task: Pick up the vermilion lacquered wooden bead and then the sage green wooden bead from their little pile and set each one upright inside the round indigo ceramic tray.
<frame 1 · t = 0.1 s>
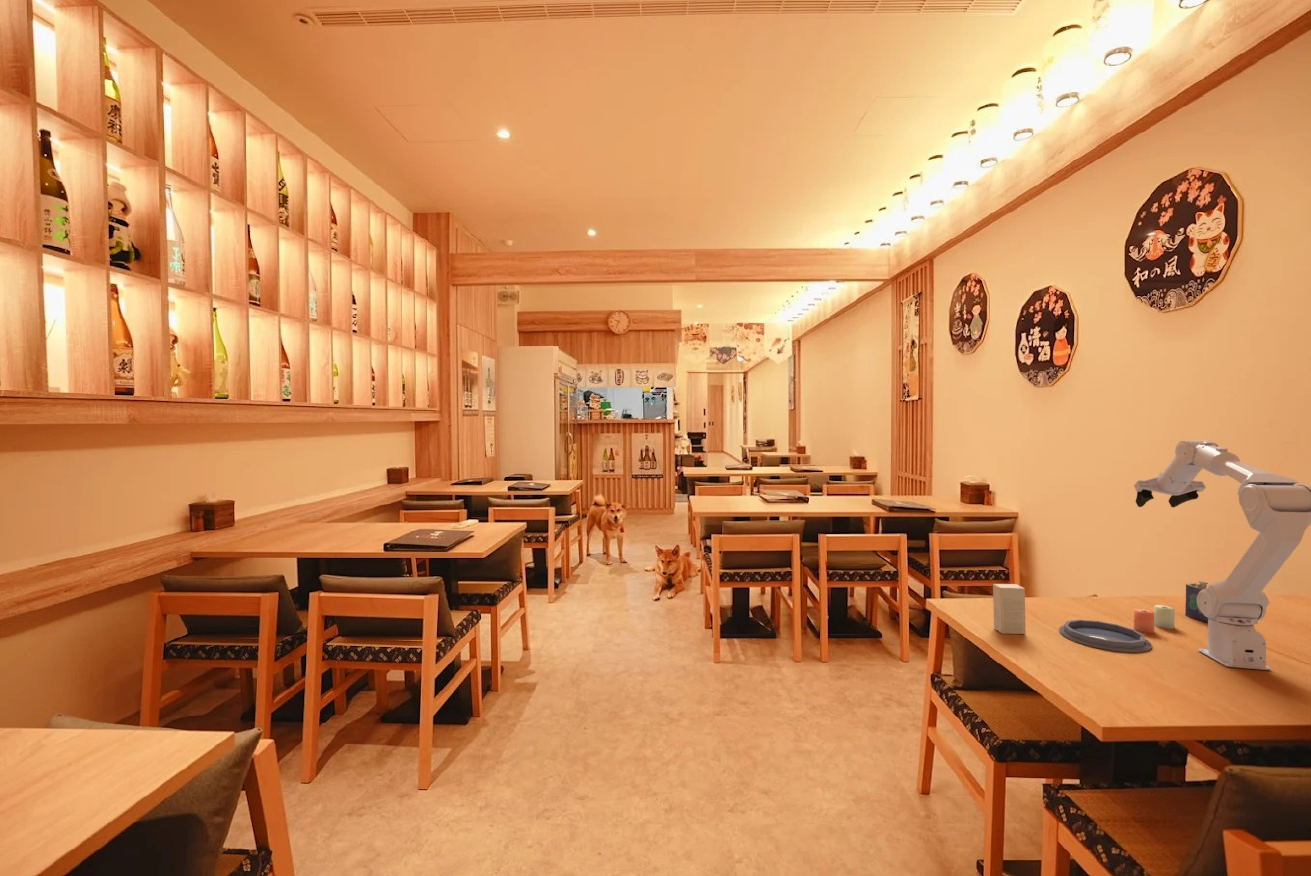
hand: (1154, 504, 152), 32 cm above the table, tool tilted 50°, fingers open, 7 cm apart
round tray: (1103, 638, 138), on the table
sage bead: (1164, 626, 147), on the table
vermilion bead: (1144, 630, 144), on the table
skincare box: (1009, 632, 144), on the table
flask: (1203, 620, 151), on the table
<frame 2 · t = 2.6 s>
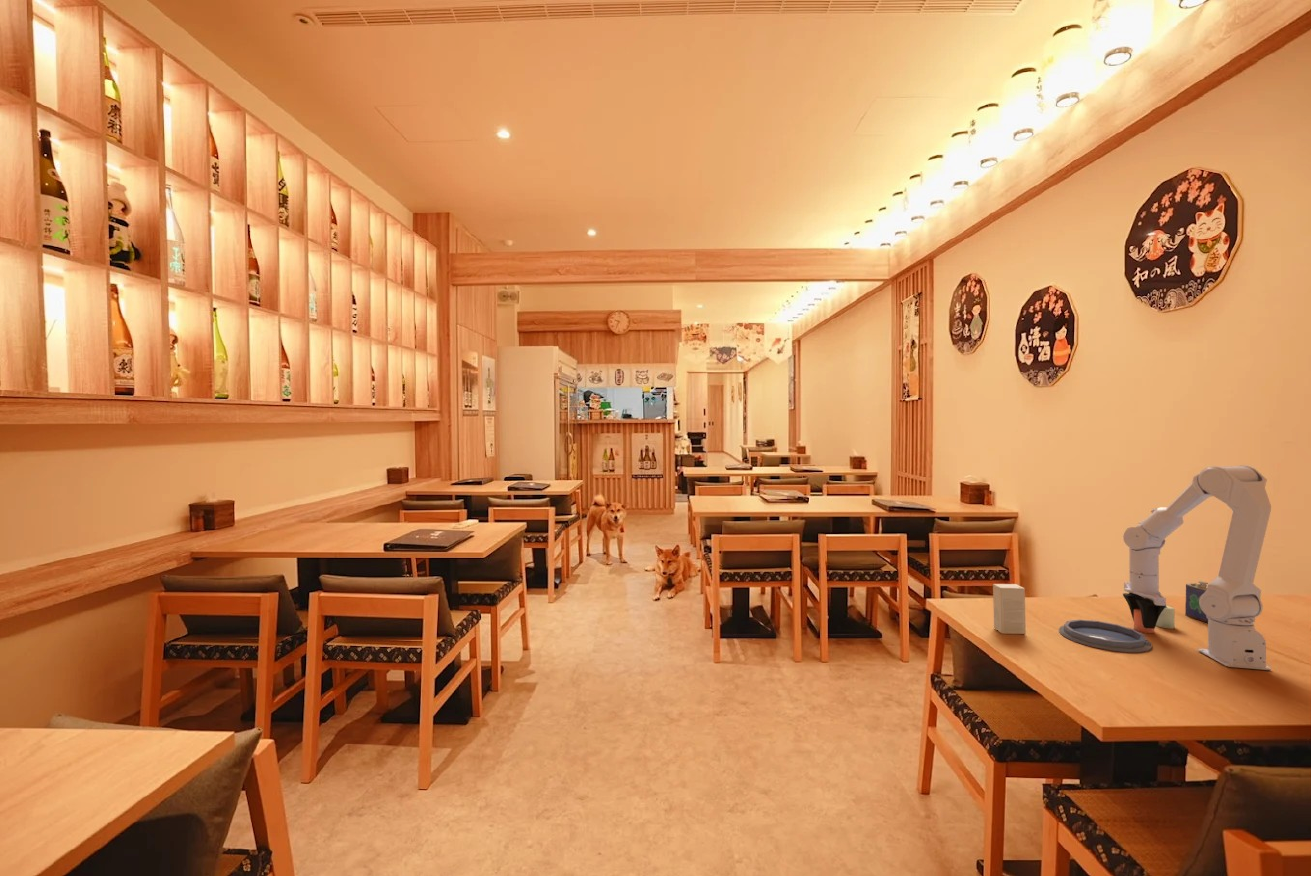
hand: (1143, 624, 144), 1 cm above the table, tool pointing down, fingers closed on vermilion bead, 4 cm apart
vermilion bead: (1143, 630, 144), on the table, touching gripper
everything else where it was.
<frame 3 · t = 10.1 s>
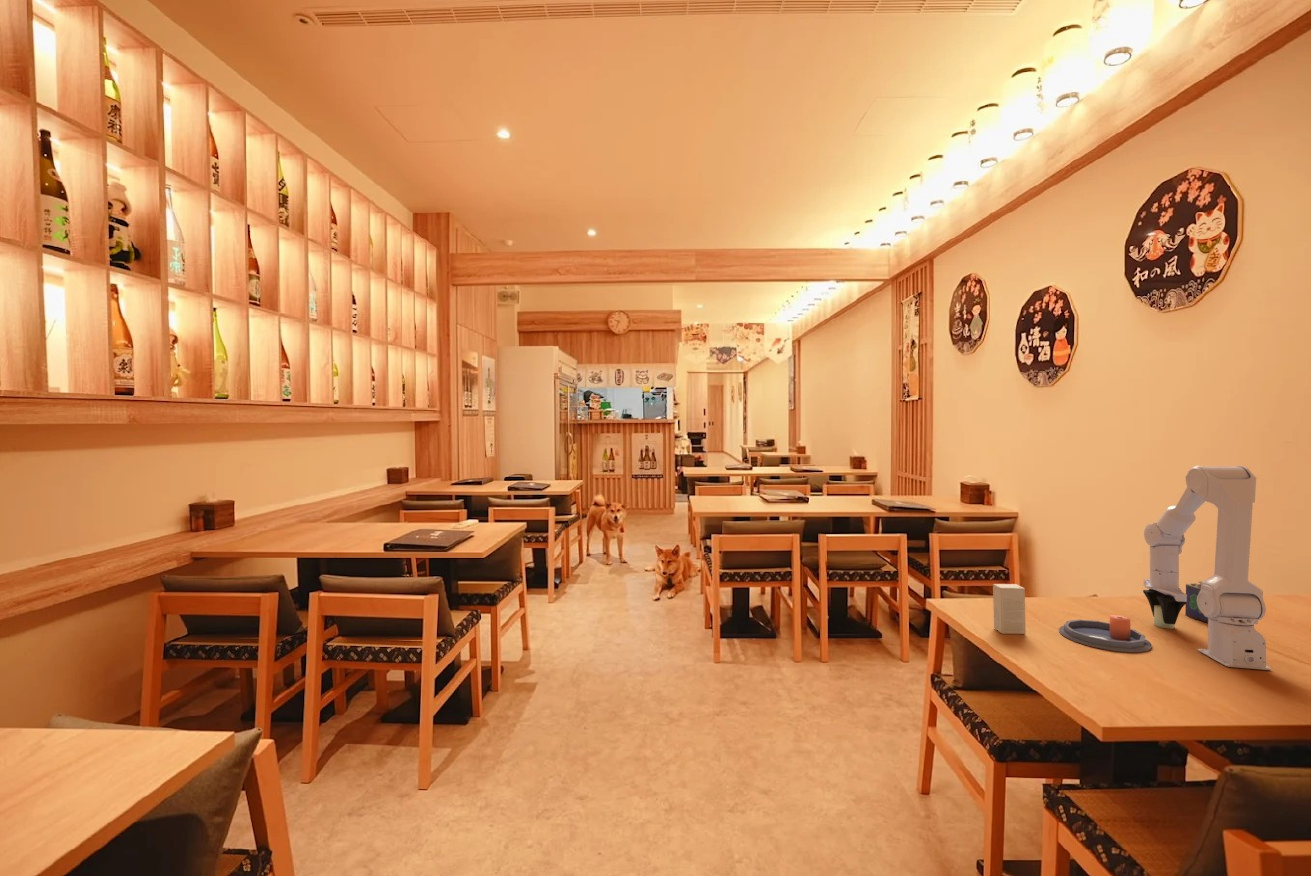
hand: (1164, 620, 147), 1 cm above the table, tool pointing down, fingers closed on sage bead, 4 cm apart
sage bead: (1164, 625, 147), on the table, touching gripper
vermilion bead: (1119, 637, 137), resting on round tray
everything else where it was.
when the fingers open (3 cm above the table, at t = 14.4 s): sage bead drops 1 cm, resting on round tray.
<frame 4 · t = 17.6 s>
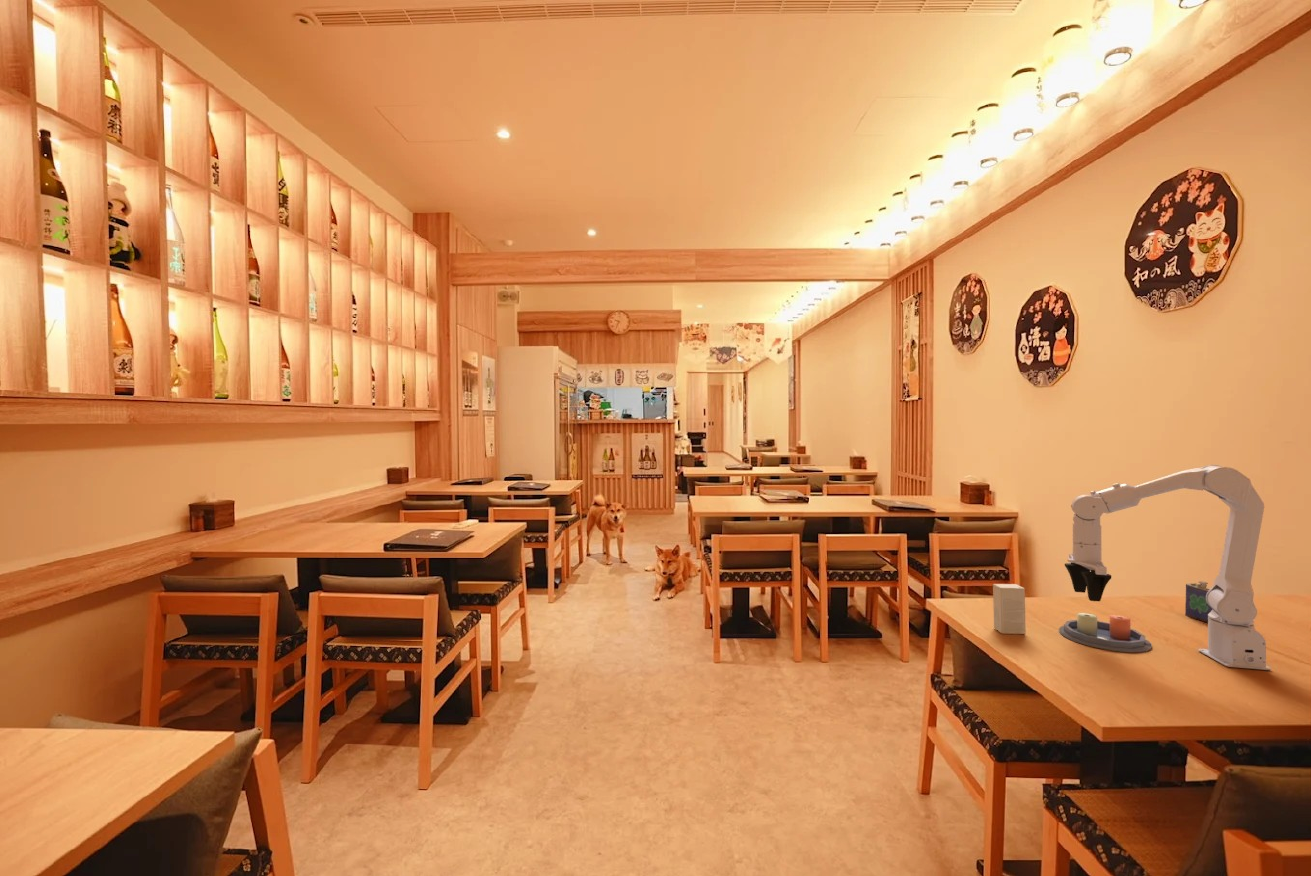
hand: (1087, 596, 139), 10 cm above the table, tool pointing down, fingers open, 7 cm apart
sage bead: (1087, 635, 139), resting on round tray
everything else where it was.
at the end: vermilion bead inside the target area on the round tray (3.5 cm from its centre), point 0.5 cm above the round tray's base; sage bead inside the target area on the round tray (3.5 cm from its centre), point 0.5 cm above the round tray's base; sage bead tilted 0° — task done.
